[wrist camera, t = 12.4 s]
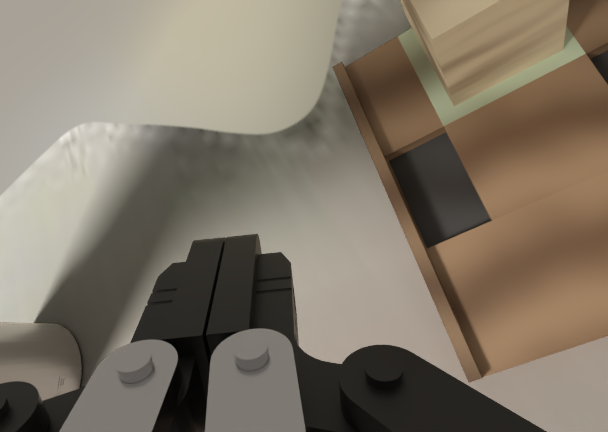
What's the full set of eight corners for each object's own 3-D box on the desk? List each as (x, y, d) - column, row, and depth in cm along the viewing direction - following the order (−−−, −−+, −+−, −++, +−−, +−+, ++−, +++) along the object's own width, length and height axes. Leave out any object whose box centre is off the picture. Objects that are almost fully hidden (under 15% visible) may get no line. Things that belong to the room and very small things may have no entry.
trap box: (861, 250, 22) (890, 243, 20) (472, 379, 28) (468, 382, 26) (598, -70, 30) (602, -95, 29) (342, 79, 36) (332, 67, 34)
